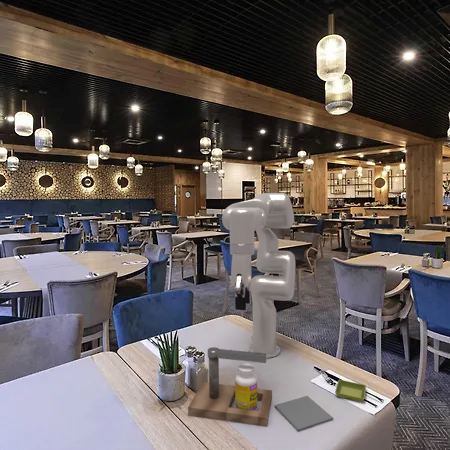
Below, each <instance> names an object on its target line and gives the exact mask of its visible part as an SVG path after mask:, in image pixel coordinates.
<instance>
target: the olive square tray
mask: <svg viewBox="0 0 450 450" xmlns="http://www.w3.org/2000/svg"><path fill="white" fill-rule="evenodd" d="M366 392H367V385H366V384H363V383H357V382H352V381H349V380H348V381H347V380H345V379H343V380H342V379H338V381H337V384H336V387H335V391H334V393H335V394H336V395H337V397H339V398H344V399H348V400H352V401H356V402H359V403H360V402H364V400H365V398H366Z"/></svg>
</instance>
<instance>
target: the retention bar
mask: <svg viewBox="0 0 450 450" xmlns="http://www.w3.org/2000/svg"><path fill="white" fill-rule="evenodd" d="M207 358H208V359H209V358H210V359H217V358H219V359H221V360H222V359H223V360H230V361H240V362H241V361H244V362H251V363H260V364H261V363H262V364H266V363H267V359H268V358H267V353H257V352H249V351H244V350H234V349H223V348H218V347H216V346H215V347H214V346H213V347H209V348H208V349H207Z"/></svg>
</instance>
